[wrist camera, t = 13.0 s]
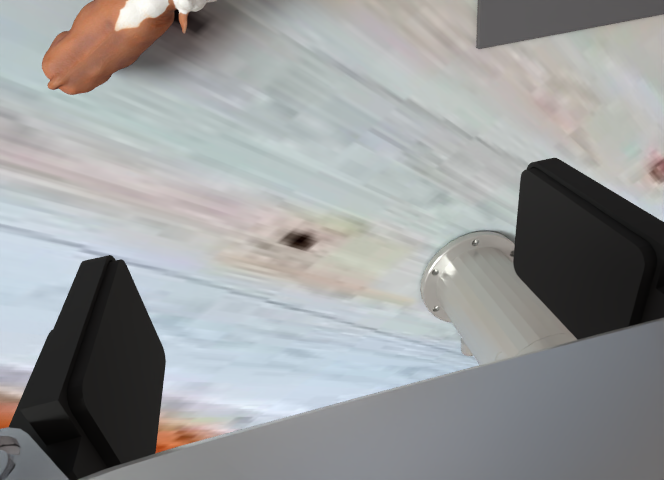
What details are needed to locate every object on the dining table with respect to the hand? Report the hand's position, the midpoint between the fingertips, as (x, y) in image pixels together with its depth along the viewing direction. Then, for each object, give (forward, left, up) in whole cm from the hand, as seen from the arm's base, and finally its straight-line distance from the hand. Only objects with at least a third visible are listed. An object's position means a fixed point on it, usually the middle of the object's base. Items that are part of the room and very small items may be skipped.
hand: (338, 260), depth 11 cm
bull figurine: (+3, +8, -34) cm, 35 cm away
